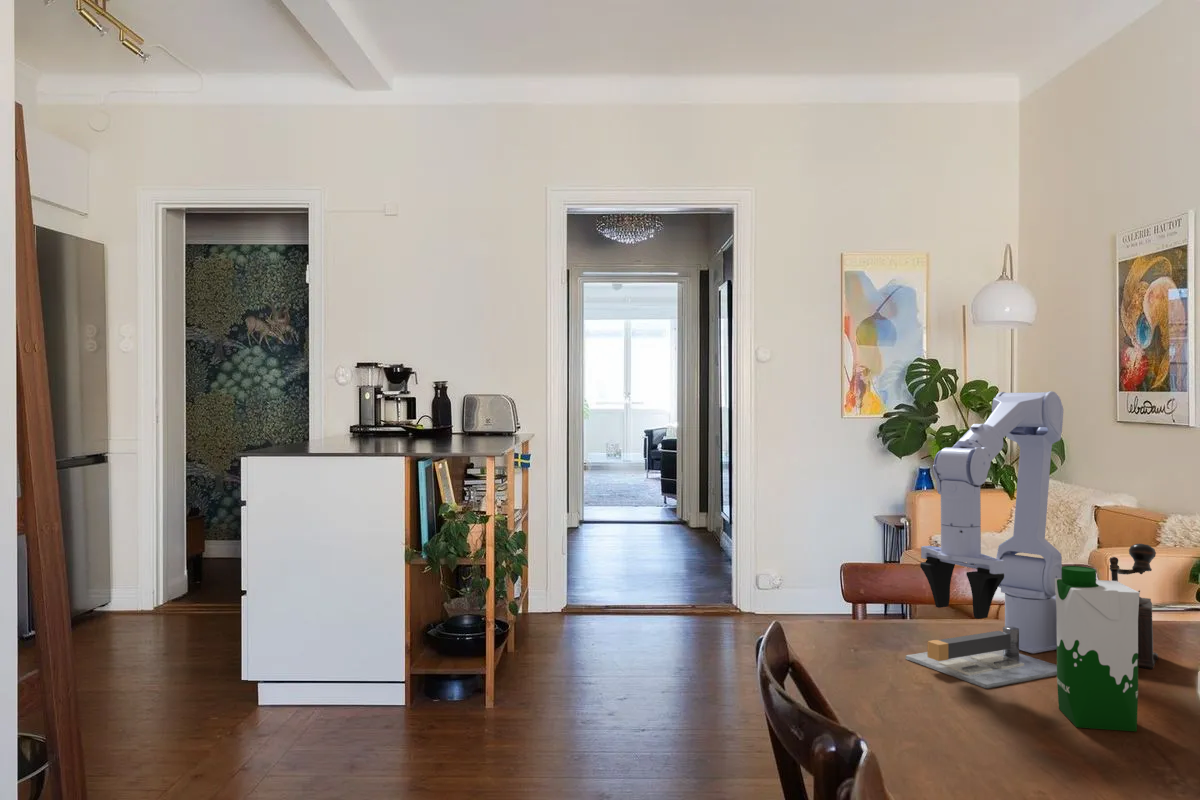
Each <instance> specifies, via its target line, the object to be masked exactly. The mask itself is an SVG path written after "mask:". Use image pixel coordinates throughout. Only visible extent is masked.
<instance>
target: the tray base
mask: <svg viewBox="0 0 1200 800" xmlns="http://www.w3.org/2000/svg"><path fill="white" fill-rule="evenodd" d="M1002 632H1005V633H1009V634H1010V649H1005V650H999V651H994V652H988V653H982V654H976V655H970V656H964V657H958V658H952V659H948V660H943V661H937V660H934V659H931V658H929V657H928V651H924V652H918V653H912V654H907V655H905V660H907V661H910V662H913V663H915V664H918V665H921V666H924V667H925V668H926V667H927V668H929V669H931V670H934V671H936V672H939V673H943V674H945V675H948V676H951V677H954V678H956V679H959V680H962V681H965V682H966V683H970V684H972V685H975V686H978V687H980V688H984V689H991V688H992V689H993V688H997V687H1003V686H1007V685H1012V684H1017V683H1023V682H1029V681H1032V680H1039V679H1045V678H1050V677H1055V676H1057V664H1055V663H1051V662H1049V661H1046V660H1042V659H1038V658H1035V657H1033V656H1029V655H1025V654H1022V653H1020V650H1019V628H1016V627H1011V626H1005V625H1004V626H1003V627H1002Z"/></svg>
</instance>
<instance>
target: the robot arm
mask: <svg viewBox="0 0 1200 800" xmlns="http://www.w3.org/2000/svg"><path fill="white" fill-rule="evenodd" d="M1063 406H1064V405H1063V403H1062V399H1061V397H1060V396H1059V395H1058V393H1056V392H1055V391H1053V390H1052V391H1050V390H1049V391H1048V392H1047V391H1044V392H1043V391H1042V392H1035V391H1034V392H1005V391H1000V392H998V393H997V394H996V396H994V397H993V399H992V405H991V413H990V415H989V416H988V417H987V419H986V420H985V421H984V422H983V423H973V424H972V425H971V426H970V428H969V429H968V430H967V431H966V432H965V433H964V434H963V436H961V437H960V438H959V440H958V441H956V442H955V444H953V446H952V447H947V446H946V447H943V448H942V449H941V450H939V451H938V452H937V453H936V454H935V457H934V459H933V465H932V474H933V477H934V479H935V481H936V491H937V494H939V495H940V546H935V545H934V546H933V545H922V546H921V547H920V549H921V551H920V555H921V556H920V557H921V559H924V560H925V561H923V562H922V561H921V562H920V565H919V566H920V568H921V570H922V572H923V573H924V575H925V577H926V579H927V581H928V584H929V586H930V587H929V588H930V590H931V594H932V597H933V600H934V606H935V607H936V608H938V609H940V608H948V607H949V606H950V605H949V604H950V599H951V598H950V597H951V582H952V576H953V573H954V569H955V567H956V565H957V566H960V567H966V568H971V569H973V571H967V572H966V577H967V580H968V582H969V583H968V584H969V587H970V589H971V590H970V591H971V598H972V612H973V617H974V619H977V620H982V619H986V618H988V616H989V614H990V609H991V605H992V603H993V599H994V596H995V594H996V592H997V590H998V588H1000V593H1004V627H1005V626H1011V627H1016V628H1019V651H1023V652H1026V653H1030V654H1038V653H1043V652H1049V651H1050V652H1051V651H1054V650H1056V651H1057V610H1056V593H1055V578H1061V577H1062V567H1063V565H1062V564H1063V562H1062V561H1063V559H1062V558H1063V557H1062V553H1061V552H1060V551H1059V550H1058V549H1057V548H1056V547H1055V546H1054V545H1053V544H1052V543H1050V542H1049V541H1048V540H1047V539H1046V527H1047V512H1048V501H1049V500H1048V499H1049V488H1050V472H1051V460H1052V458H1051V457H1052V450H1053V449H1052V448H1053V444H1055V443H1057V442H1059V441H1061V440H1062V438H1061V437H1062V433H1063V423H1064V407H1063ZM1005 437H1006V438H1007V439H1008V440H1010V441H1013V442H1016V444H1017V445H1018V446H1019V457H1018V458H1019V460H1018V468H1017V469H1018V471H1017V485H1016V497H1015V498H1016V499H1015V510H1014V521H1013V522H1014V523H1013V533H1012V536H1011V537H1010V538H1007V539H1006V540H1005V541H1003V542H1002V543H1000V544H998V547H997V552H996V556H995V557H993V556H989V555H988V554H985V553H984V554H983V553H982V549H981V548H982V546H981V545H982V544H981V543H982V541H981V540H982V539H981V538H982V537H981V535H982V531H981V530H982V529H981V527H982V526H981V525H982V524H981V521H982V520H981V518H982V517H981V515H982V514H981V513H982V512H981V510H982V509H981V486H982V485H983V484H985V483H986V480H987V478H988V475H989V474H988V473H989V470H990V468H991V466H992V465H991V462H993V460H994V459H995V457H997V456H998V454H999V453H1000V452H1001V451H1002V450H1003V448H1004V438H1005ZM1020 553H1023V554H1030V555H1038V556H1041V557H1035V556H1028V555H1021V554H1020ZM975 570H976V571H975Z"/></svg>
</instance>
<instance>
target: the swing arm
mask: <svg viewBox="0 0 1200 800" xmlns="http://www.w3.org/2000/svg"><path fill="white" fill-rule="evenodd" d="M1005 649H1010V634H1009V633H1005V632H1003V630H995V631H987V632H981V633H975V634H966V635H962V636H955V637H950V638H942V639H933V640H932V639H931V640H927V652H928V657H929V658H931V659H934V660H937V661H943V660H948V659H952V658H958V657H964V656H970V655H976V654H982V653H988V652H994V651H999V650H1005Z"/></svg>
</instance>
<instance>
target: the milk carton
mask: <svg viewBox="0 0 1200 800" xmlns="http://www.w3.org/2000/svg"><path fill="white" fill-rule="evenodd" d="M1055 593H1056V595H1055V596H1056V610H1057V649H1056V665H1057V675H1056V684H1057V685H1056V687H1057V699H1058V700H1057V701H1058V709H1059V711H1061V713H1062V714H1063V715H1064V716H1065V717H1066V718H1068V720H1069V721H1070V722H1071V724H1073V725H1074V726H1075V727H1076V728H1079V729H1081V728H1082V729H1092V730H1093V729H1095V730H1108V731H1109V730H1111V731H1122V732H1125V731H1126V732H1136V733H1137V731H1138V706H1139V705H1138V704H1139V701H1138V700H1139V668H1138V611H1139V596H1140V594H1141V592H1138V590H1135V589H1133V588H1131V587H1130V586H1128V585H1126V584H1124V583H1121V581H1120V582H1119V580H1118V581H1112V580H1105V579H1104V580H1103V579H1102V580H1101V579H1097V569H1095V568H1093V567H1088V566H1082V565H1064V566H1063V565H1062V577H1061V578H1055Z"/></svg>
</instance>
